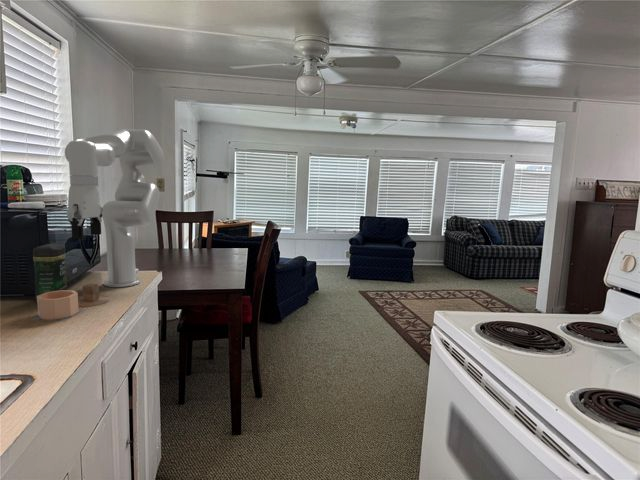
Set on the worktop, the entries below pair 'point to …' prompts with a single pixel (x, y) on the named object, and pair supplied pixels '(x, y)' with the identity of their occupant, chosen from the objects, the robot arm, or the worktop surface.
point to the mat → (59, 319)
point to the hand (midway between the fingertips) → (87, 236)
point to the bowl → (57, 304)
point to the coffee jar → (49, 268)
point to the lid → (92, 296)
